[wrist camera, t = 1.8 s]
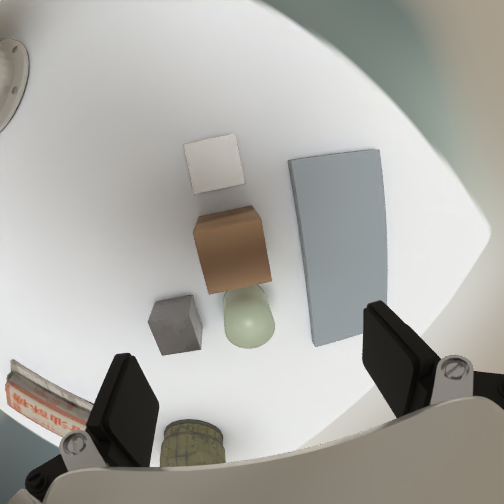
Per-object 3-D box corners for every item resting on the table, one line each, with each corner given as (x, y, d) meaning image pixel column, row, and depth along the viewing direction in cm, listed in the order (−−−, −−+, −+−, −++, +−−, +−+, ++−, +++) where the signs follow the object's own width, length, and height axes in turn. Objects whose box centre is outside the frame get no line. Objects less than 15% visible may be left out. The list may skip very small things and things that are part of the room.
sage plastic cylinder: (218, 287, 29) (219, 312, 24) (262, 278, 29) (270, 301, 24) (228, 324, 30) (230, 352, 26) (269, 315, 31) (278, 342, 26)
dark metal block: (155, 301, 29) (147, 321, 25) (192, 294, 29) (188, 314, 25) (167, 333, 30) (162, 355, 26) (202, 327, 30) (200, 349, 26)
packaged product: (5, 411, 27) (-2, 375, 25) (16, 393, 32) (13, 356, 30) (102, 462, 32) (110, 435, 29) (108, 441, 36) (117, 411, 34)
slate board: (288, 160, 26) (291, 160, 25) (373, 149, 26) (379, 149, 25) (312, 341, 32) (315, 347, 31) (381, 320, 33) (385, 325, 32)
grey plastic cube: (188, 146, 25) (183, 144, 21) (232, 136, 25) (235, 133, 21) (197, 189, 26) (194, 194, 22) (241, 179, 26) (245, 183, 22)
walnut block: (198, 216, 27) (192, 233, 21) (251, 205, 27) (260, 218, 21) (210, 266, 28) (208, 294, 23) (261, 255, 28) (272, 281, 23)
